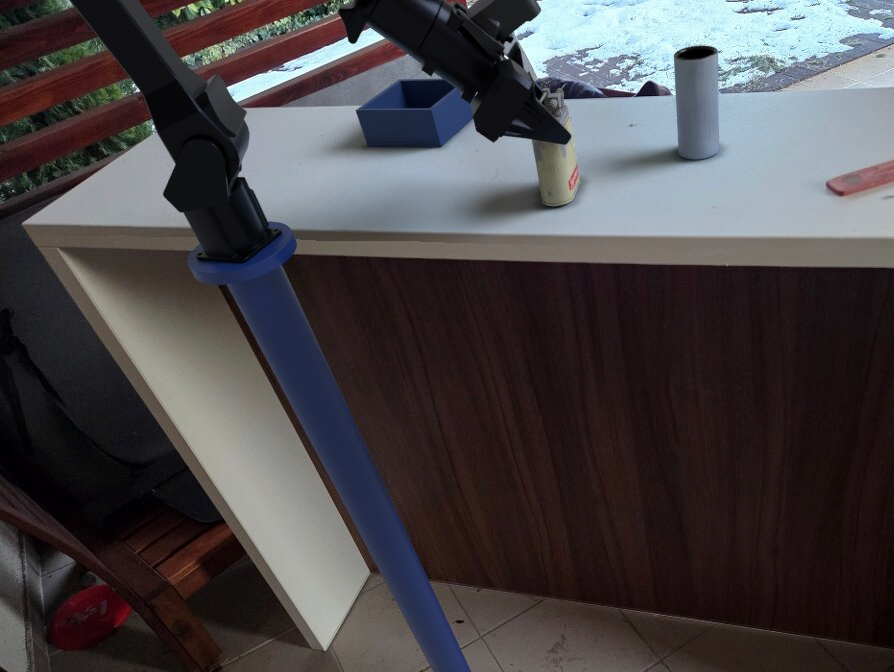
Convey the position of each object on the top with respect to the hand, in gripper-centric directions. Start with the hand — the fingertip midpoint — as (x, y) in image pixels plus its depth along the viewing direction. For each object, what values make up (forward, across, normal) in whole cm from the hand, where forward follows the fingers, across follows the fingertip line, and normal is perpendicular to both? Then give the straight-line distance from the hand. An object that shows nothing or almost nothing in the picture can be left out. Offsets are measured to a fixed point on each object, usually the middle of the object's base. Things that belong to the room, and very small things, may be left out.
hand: (563, 128), depth 76 cm
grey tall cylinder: (+15, +3, -6) cm, 17 cm away
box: (-6, +28, +16) cm, 33 cm away
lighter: (+4, 0, +6) cm, 7 cm away
